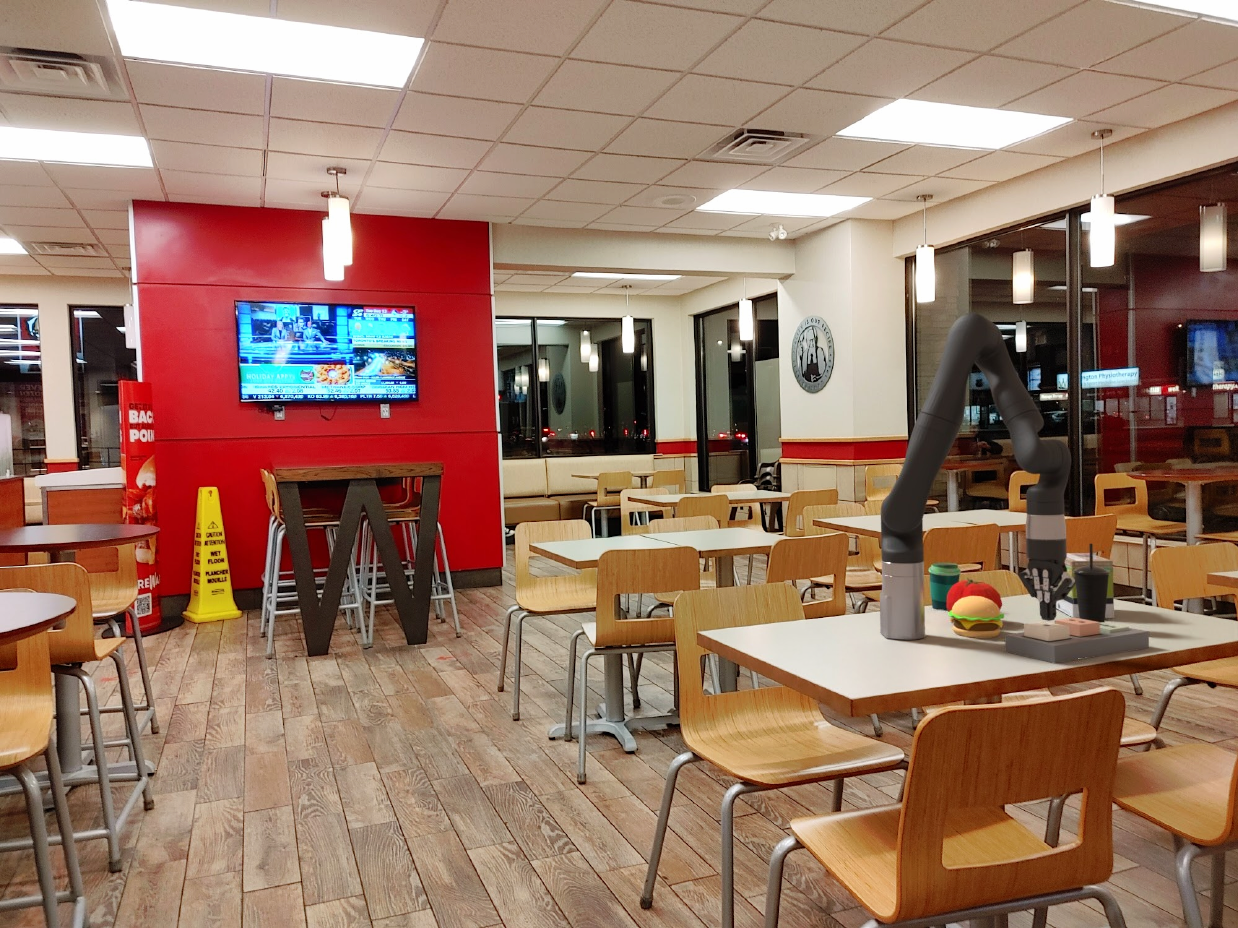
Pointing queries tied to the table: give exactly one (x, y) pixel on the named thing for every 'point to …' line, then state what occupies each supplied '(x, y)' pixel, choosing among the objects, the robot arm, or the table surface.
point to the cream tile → (1046, 631)
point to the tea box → (1070, 601)
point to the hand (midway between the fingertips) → (1048, 619)
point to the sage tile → (1112, 628)
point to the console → (1077, 645)
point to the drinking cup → (1091, 590)
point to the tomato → (972, 592)
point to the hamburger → (976, 617)
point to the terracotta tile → (1080, 626)
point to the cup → (942, 582)
